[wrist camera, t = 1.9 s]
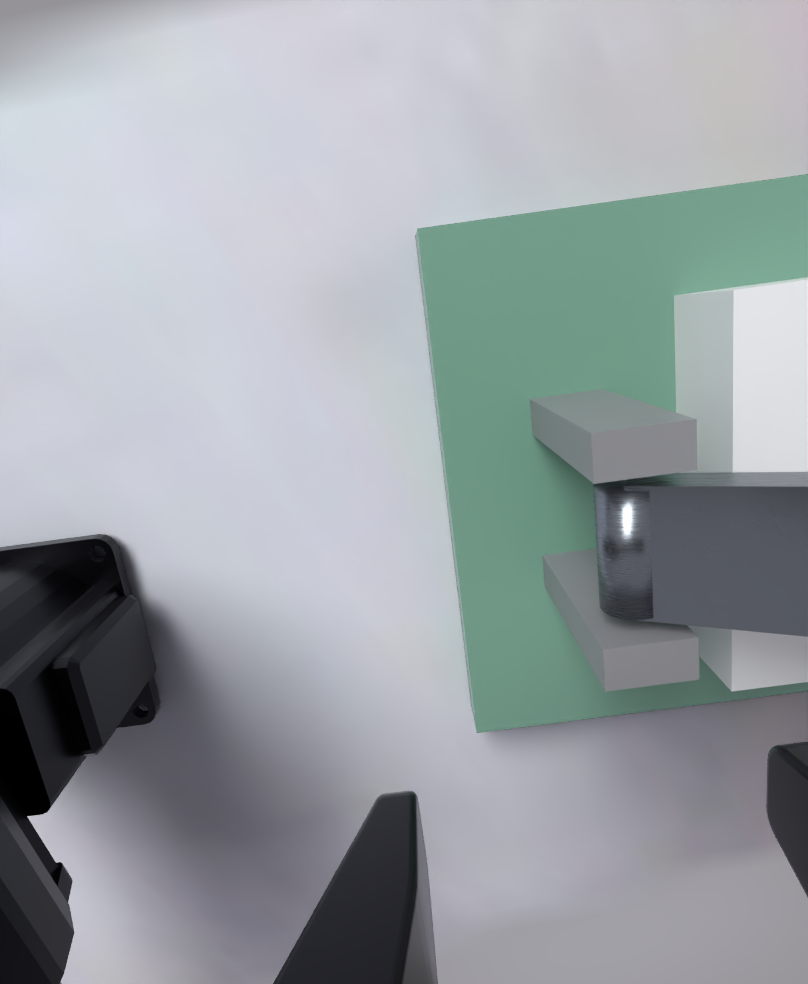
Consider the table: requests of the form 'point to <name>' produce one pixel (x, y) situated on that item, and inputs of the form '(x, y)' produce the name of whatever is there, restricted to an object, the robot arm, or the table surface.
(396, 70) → the table surface
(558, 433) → the board
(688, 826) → the table surface
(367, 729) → the table surface
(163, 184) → the table surface
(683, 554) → the strap
